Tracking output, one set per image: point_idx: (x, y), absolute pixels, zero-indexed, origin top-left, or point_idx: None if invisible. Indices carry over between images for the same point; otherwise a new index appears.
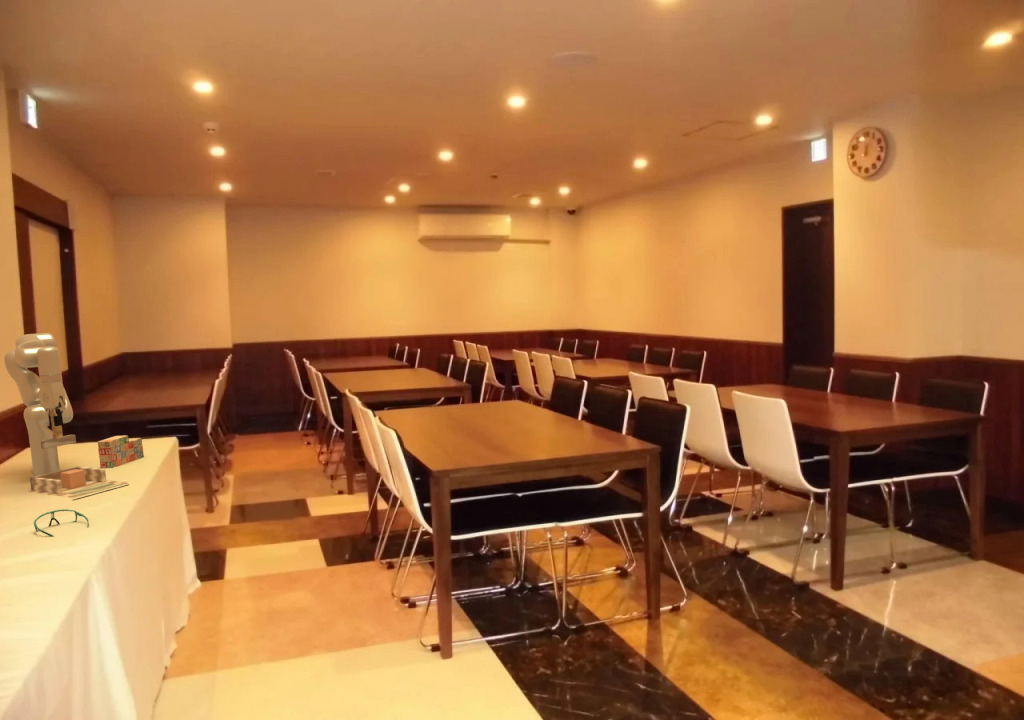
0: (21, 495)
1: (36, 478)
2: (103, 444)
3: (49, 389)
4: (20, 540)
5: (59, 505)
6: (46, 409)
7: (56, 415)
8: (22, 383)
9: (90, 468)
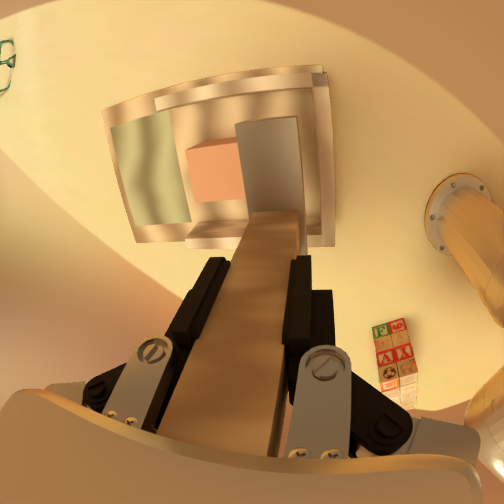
0: (322, 50)
1: (284, 76)
2: (400, 370)
3: None
4: (4, 27)
5: (95, 77)
6: (397, 438)
7: (142, 344)
8: None
9: None
